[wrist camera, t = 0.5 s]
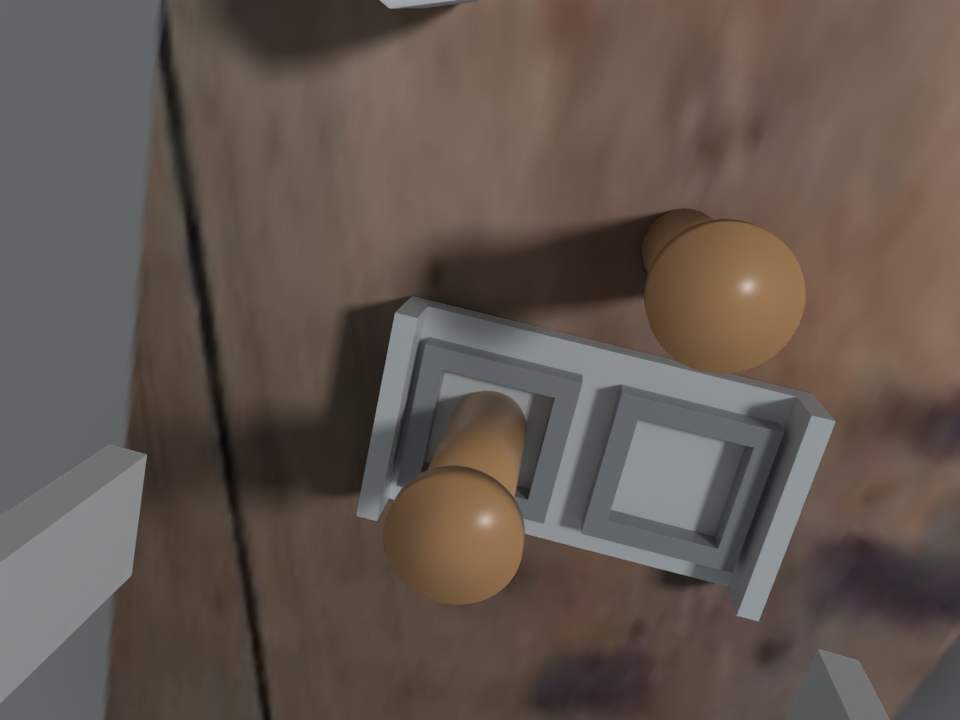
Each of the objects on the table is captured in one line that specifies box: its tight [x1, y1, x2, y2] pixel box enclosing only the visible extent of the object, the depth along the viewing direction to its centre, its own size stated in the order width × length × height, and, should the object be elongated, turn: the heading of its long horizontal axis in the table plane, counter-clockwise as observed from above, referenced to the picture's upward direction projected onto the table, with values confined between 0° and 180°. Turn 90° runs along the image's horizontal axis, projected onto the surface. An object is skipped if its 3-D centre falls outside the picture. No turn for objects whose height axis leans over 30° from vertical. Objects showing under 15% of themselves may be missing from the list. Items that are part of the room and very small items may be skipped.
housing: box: [356, 296, 836, 621], centre depth 36 cm, size 10×19×4 cm, turn 77°
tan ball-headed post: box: [641, 209, 805, 374], centre depth 30 cm, size 5×5×11 cm
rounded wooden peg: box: [383, 391, 527, 604], centre depth 32 cm, size 5×5×11 cm
